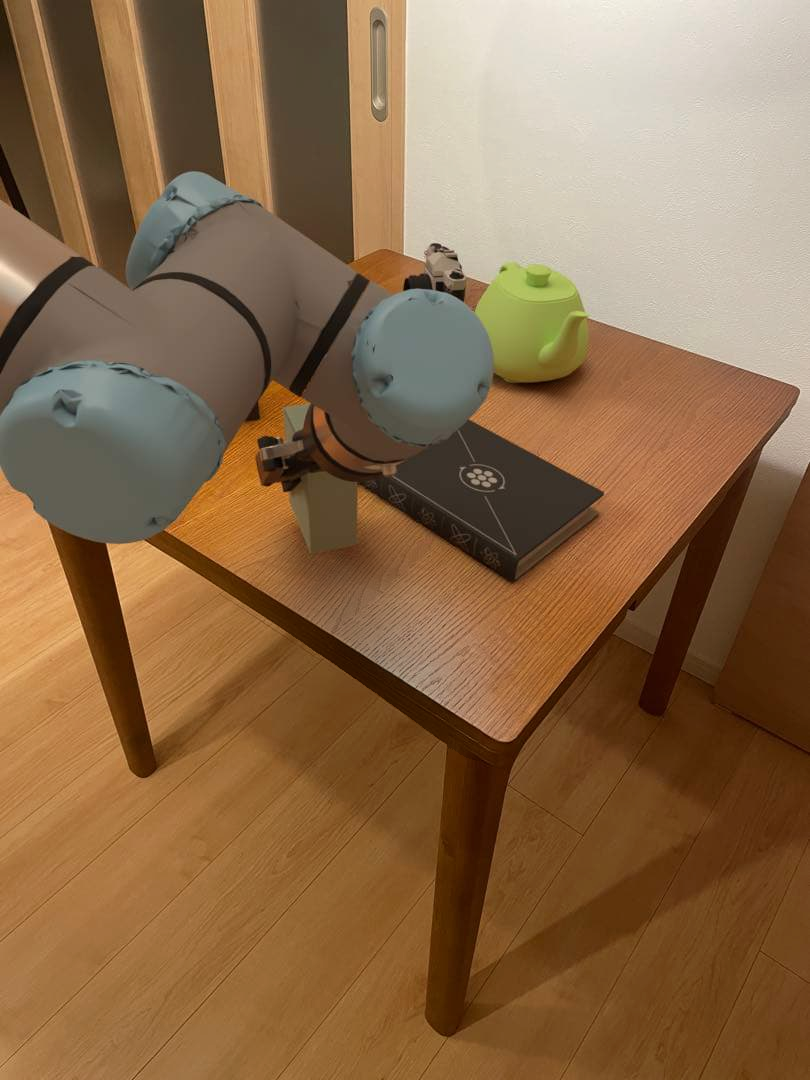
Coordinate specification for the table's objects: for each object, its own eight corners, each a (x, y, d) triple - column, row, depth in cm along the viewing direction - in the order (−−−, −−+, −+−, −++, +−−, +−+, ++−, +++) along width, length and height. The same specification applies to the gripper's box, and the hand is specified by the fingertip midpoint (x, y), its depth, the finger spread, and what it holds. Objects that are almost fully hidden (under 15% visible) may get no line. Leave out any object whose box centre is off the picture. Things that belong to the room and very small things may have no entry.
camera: (392, 290, 121) (394, 233, 115) (440, 285, 123) (445, 228, 117) (418, 336, 113) (422, 277, 106) (469, 329, 115) (476, 271, 108)
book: (353, 481, 86) (353, 459, 84) (445, 428, 94) (446, 407, 92) (511, 584, 75) (515, 561, 73) (599, 514, 83) (605, 492, 81)
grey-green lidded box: (310, 554, 73) (305, 452, 66) (288, 502, 79) (281, 402, 71) (358, 544, 75) (358, 443, 67) (333, 493, 80) (331, 394, 72)
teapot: (619, 402, 100) (644, 304, 91) (510, 420, 96) (525, 319, 87) (542, 323, 115) (557, 232, 106) (445, 336, 111) (452, 242, 102)
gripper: (250, 498, 52) (228, 529, 75) (493, 452, 57) (404, 494, 80) (226, 386, 52) (211, 450, 75) (471, 350, 57) (388, 420, 80)
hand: (310, 473), depth 77 cm, fingers closed on grey-green lidded box, 4 cm apart
